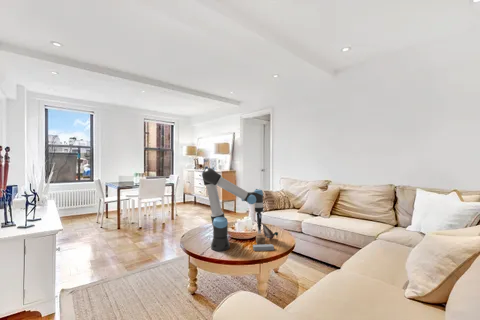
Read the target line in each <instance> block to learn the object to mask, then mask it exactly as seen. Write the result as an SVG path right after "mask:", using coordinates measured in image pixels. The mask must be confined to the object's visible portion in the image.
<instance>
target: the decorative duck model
mask: <svg viewBox="0 0 480 320" xmlns="http://www.w3.org/2000/svg"><path fill="white" fill-rule="evenodd" d="M262 231H263V235H264V236H265V238H267V239H270V240H272V239H273V238H275V236H276V237H278V235H279V232H278V231H275V232H274V233H273V231H272V230H271V229H270V228H269V227H268V226H267V225H266V224H263V223H262Z"/></svg>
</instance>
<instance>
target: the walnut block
mask: <svg viewBox="0 0 480 320" xmlns="http://www.w3.org/2000/svg"><path fill="white" fill-rule="evenodd" d="M255 244H256V245H261V244H266V237H265V236H264V234H256V235H255Z"/></svg>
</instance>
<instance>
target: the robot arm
mask: <svg viewBox="0 0 480 320" xmlns="http://www.w3.org/2000/svg"><path fill="white" fill-rule="evenodd" d="M201 177H202V181H203V186H205V187H206V190H207V191H206V192H207V195H208V202H209V206H210V211H211V213H210V214H211V215H210V219H211V220H210V221H211V225H212V228H213V229H212V233H213V234H212V236H213V237H212V242H211V243H210V249H211V250H213V251H216V252H222V251H227V250H230V248H231V245H230V241H229V238H228V234H229V232H228V229H229V227H228V225H229V222H228V218H226V217H225V213H224V211H222V206H221V202H220V201H221V200H220V196H219V192H218V187H219V188H222V189H223V190H225V191H226V192H228V193H229V194H230V193H231V194H232V195H233V196H236V198H237V197H238V198H239V199H241V201H242V202H246V203H247V204H249V205H254V211H255V213H256V227H257V235H262V216H263V215H262V212H264V205H265V204H264V191H263V189H254V191H253V192H249V191H246V190H245V189H243V188H242V187H240V186H238V185H236V184H235V183H233V182H231V181H229V180H228V179H226V178H224V177H222V174H219V173H218V172H217V171H216V170H215V169H213V168H212V167H206V168H205V169H203V170H202V173H201ZM217 186H218V187H217Z"/></svg>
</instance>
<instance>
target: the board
mask: <svg viewBox="0 0 480 320" xmlns="http://www.w3.org/2000/svg"><path fill="white" fill-rule="evenodd" d="M252 249H253V252H256V251H257V252H258V251H259V252H260V251H275V246H274V244H271V243H270V244H267V243H265V244H261V245H257V244H252Z"/></svg>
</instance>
